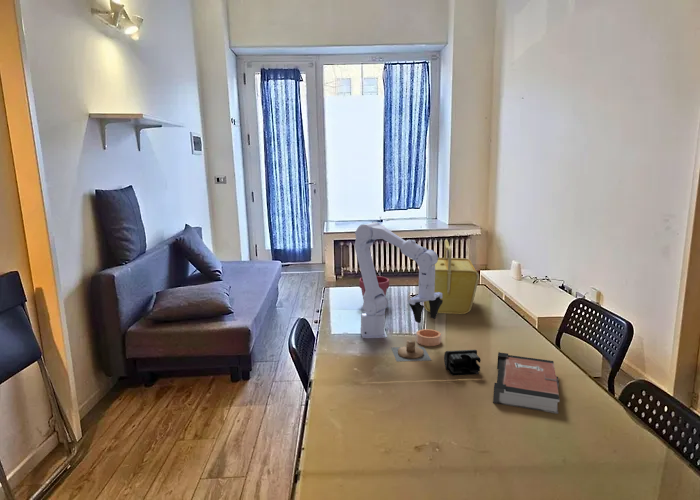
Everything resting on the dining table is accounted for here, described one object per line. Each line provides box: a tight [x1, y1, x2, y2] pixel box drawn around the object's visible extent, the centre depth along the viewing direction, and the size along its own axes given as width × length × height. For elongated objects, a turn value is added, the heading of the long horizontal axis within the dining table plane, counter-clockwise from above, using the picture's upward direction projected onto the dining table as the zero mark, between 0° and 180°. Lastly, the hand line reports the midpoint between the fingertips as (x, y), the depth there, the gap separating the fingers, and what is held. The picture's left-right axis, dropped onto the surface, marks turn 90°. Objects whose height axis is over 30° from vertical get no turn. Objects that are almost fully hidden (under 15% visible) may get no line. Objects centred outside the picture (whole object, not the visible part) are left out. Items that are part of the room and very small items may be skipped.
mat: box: [390, 346, 432, 362], centre depth 160 cm, size 12×12×1 cm
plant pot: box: [358, 275, 390, 297], centre depth 217 cm, size 14×14×13 cm
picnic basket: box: [423, 239, 480, 315], centre depth 215 cm, size 29×26×30 cm
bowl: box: [415, 328, 442, 347], centre depth 172 cm, size 9×9×4 cm
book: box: [492, 352, 560, 415], centre depth 137 cm, size 26×18×5 cm
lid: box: [398, 339, 424, 359], centre depth 160 cm, size 9×9×4 cm
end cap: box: [443, 349, 481, 377], centre depth 147 cm, size 10×7×7 cm
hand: (425, 320), depth 167 cm, fingers open, 7 cm apart
